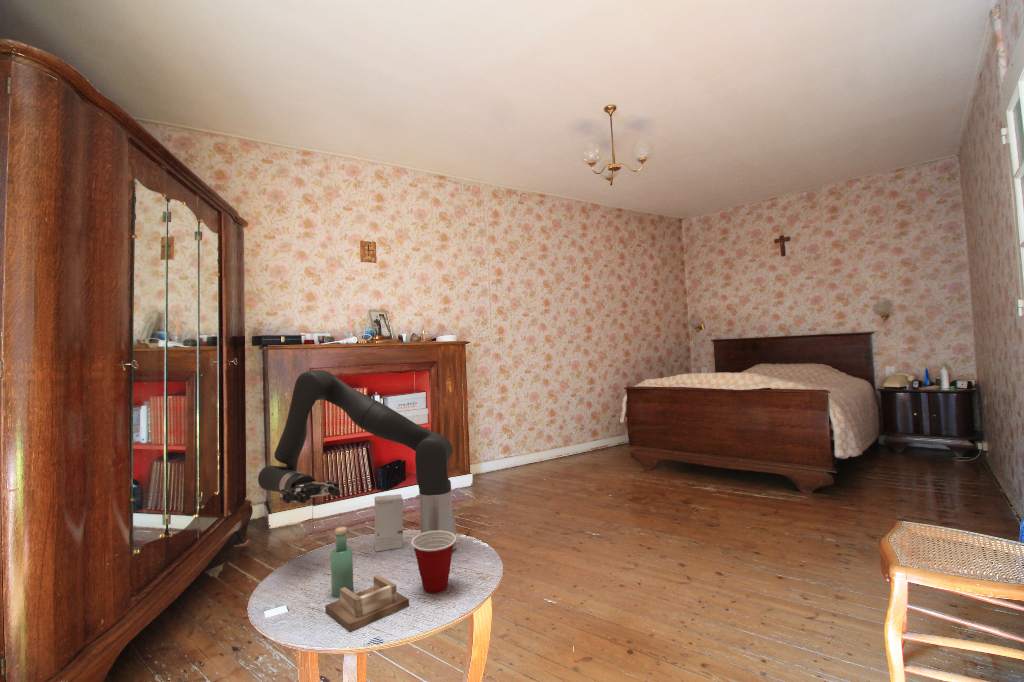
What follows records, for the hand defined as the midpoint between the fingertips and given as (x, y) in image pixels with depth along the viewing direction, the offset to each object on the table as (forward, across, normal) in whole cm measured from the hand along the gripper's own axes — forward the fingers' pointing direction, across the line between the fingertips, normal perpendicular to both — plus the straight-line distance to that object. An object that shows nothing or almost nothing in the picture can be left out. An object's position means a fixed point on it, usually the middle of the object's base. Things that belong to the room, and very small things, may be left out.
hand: (321, 495), depth 126 cm
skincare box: (-7, +23, +21) cm, 32 cm away
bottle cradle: (+24, 0, +21) cm, 32 cm away
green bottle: (+11, 0, +21) cm, 24 cm away
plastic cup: (+27, +16, +21) cm, 38 cm away
